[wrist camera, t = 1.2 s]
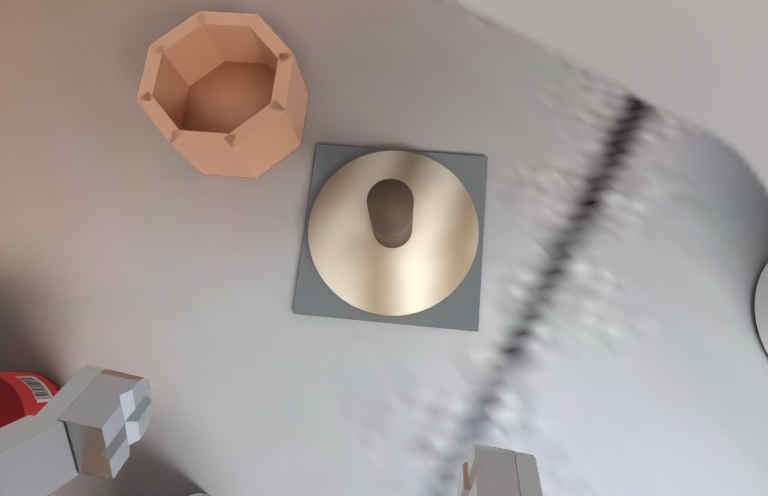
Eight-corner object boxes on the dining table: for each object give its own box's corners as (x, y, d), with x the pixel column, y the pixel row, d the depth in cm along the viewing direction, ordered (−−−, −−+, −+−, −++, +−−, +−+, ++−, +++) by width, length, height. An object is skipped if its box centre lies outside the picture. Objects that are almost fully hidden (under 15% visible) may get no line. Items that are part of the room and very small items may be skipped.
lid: (481, 161, 41) (498, 114, 33) (472, 324, 38) (489, 314, 30) (321, 149, 42) (302, 101, 34) (299, 307, 39) (273, 293, 31)
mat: (486, 158, 42) (487, 156, 41) (477, 331, 38) (478, 331, 38) (317, 146, 42) (316, 144, 42) (293, 313, 39) (292, 313, 39)
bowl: (313, 61, 45) (300, 16, 39) (295, 181, 42) (277, 151, 36) (190, 54, 45) (158, 8, 40) (164, 171, 43) (125, 140, 37)
